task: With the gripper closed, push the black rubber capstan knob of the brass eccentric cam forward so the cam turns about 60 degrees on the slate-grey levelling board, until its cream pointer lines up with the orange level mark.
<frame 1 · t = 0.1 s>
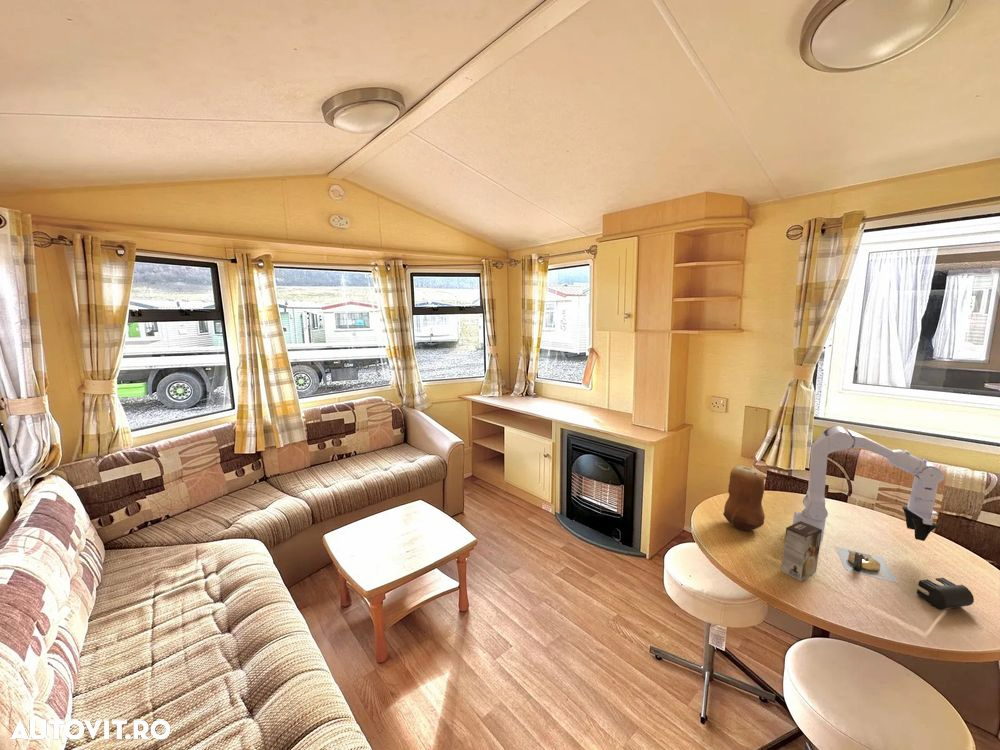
hand: (915, 534, 137), 10 cm above the table, fingers open, 7 cm apart
butternut squash: (741, 527, 159), on the table
coffee box: (798, 572, 132), on the table
cam: (863, 557, 134), point 4 cm above the table, hinge at 0.0°
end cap: (942, 606, 118), on the table
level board: (864, 566, 135), on the table
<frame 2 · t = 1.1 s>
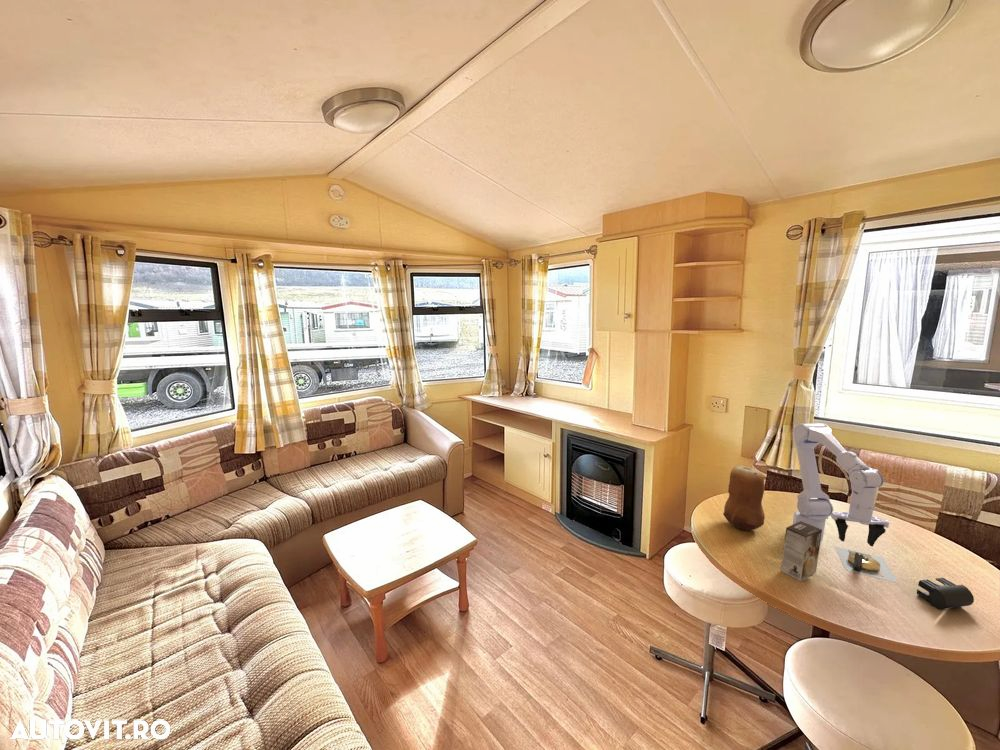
hand: (855, 542, 133), 10 cm above the table, fingers open, 7 cm apart
nothing on the table moved.
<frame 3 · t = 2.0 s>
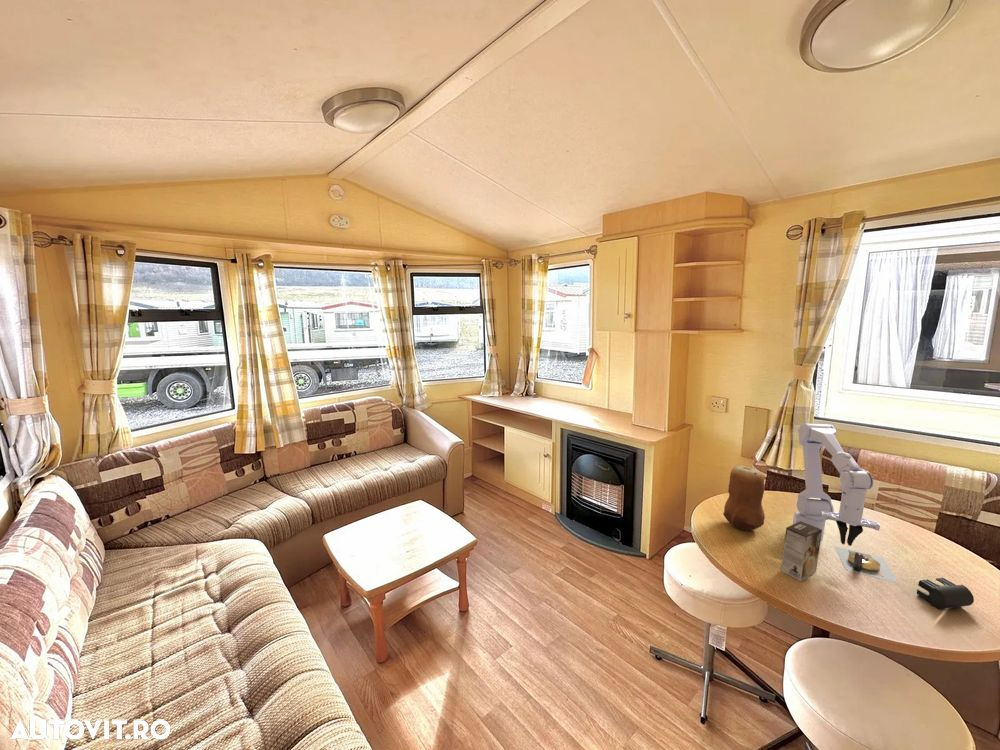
hand: (845, 543, 132), 9 cm above the table, fingers closed
nothing on the table moved.
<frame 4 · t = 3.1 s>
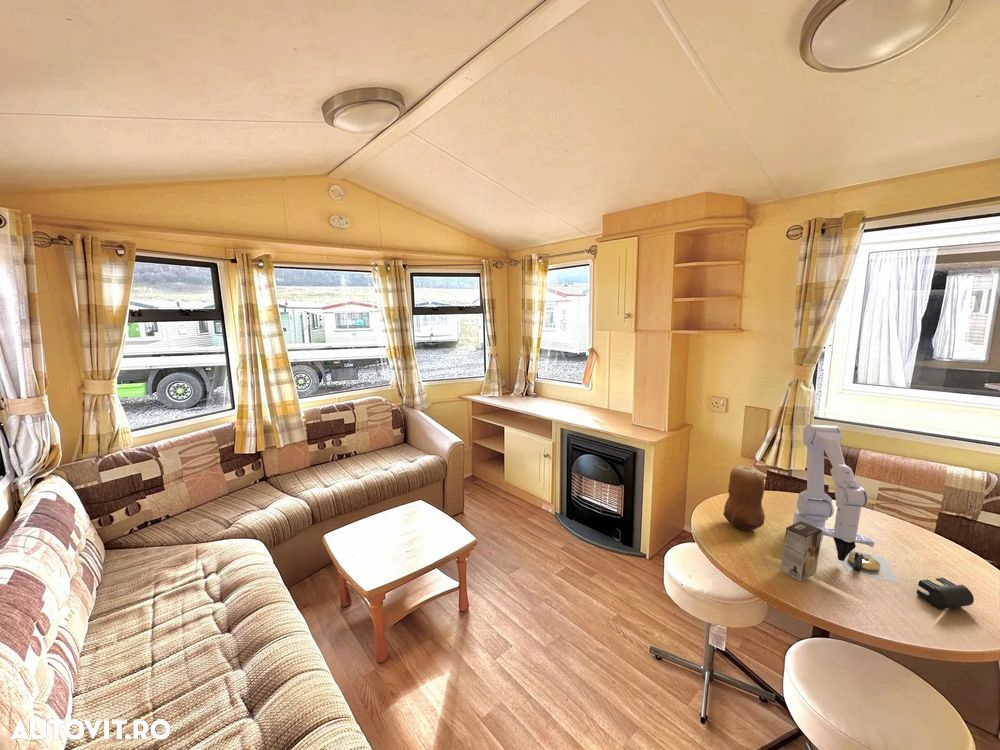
hand: (840, 559, 134), 3 cm above the table, fingers closed
nothing on the table moved.
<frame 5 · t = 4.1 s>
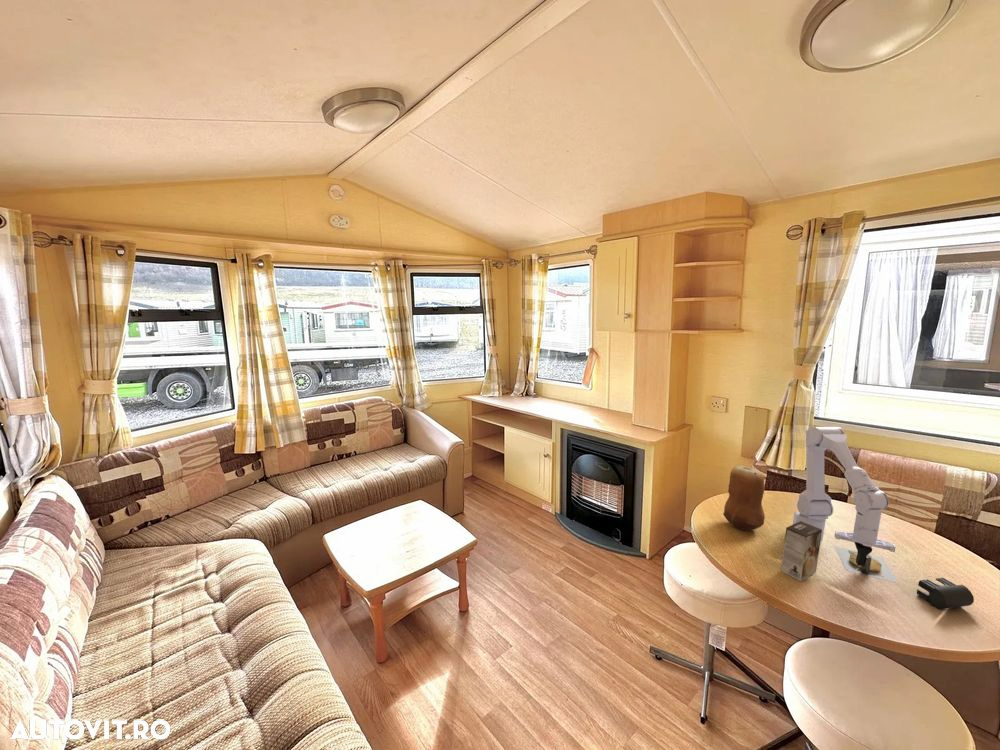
hand: (860, 564, 131), 4 cm above the table, fingers closed, pressing on cam
cam: (866, 558, 133), point 4 cm above the table, hinge at 18.0°, touching gripper
everything else where it was.
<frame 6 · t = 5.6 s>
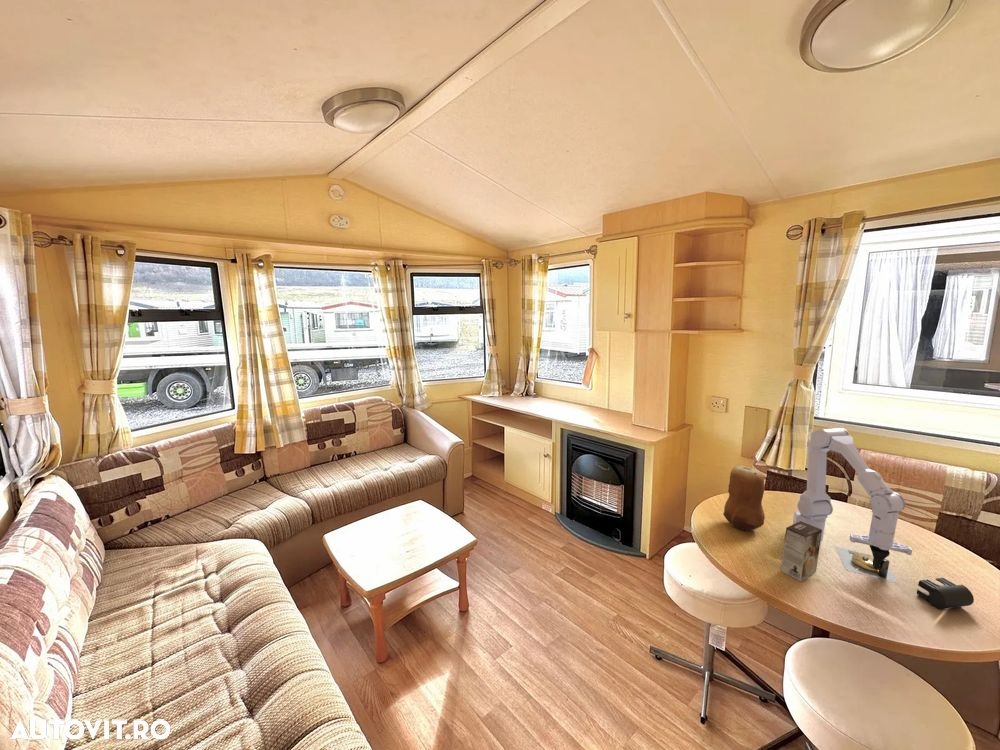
hand: (875, 567, 129), 3 cm above the table, fingers closed
cam: (871, 559, 133), point 4 cm above the table, hinge at 58.4°, touching gripper
everything else where it was.
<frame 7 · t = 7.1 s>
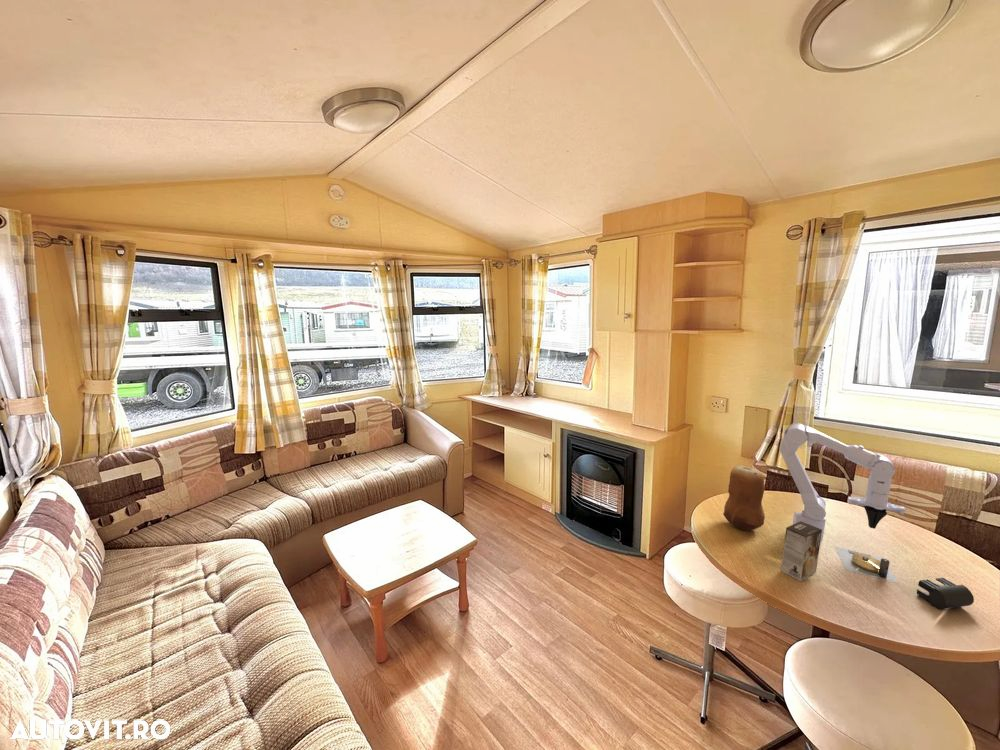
hand: (871, 526, 140), 10 cm above the table, fingers closed
cam: (872, 559, 133), point 4 cm above the table, hinge at 58.8°
everything else where it was.
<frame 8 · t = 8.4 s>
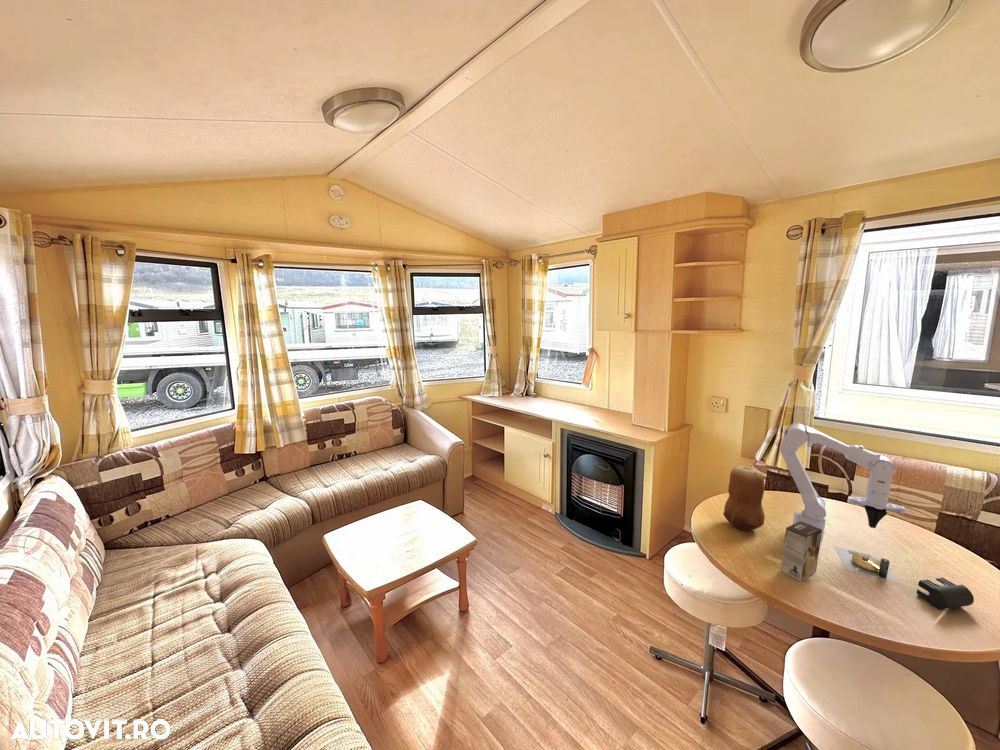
hand: (871, 526, 141), 10 cm above the table, fingers closed
nothing on the table moved.
at the end: cam at +59° (first picture: +0°) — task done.
